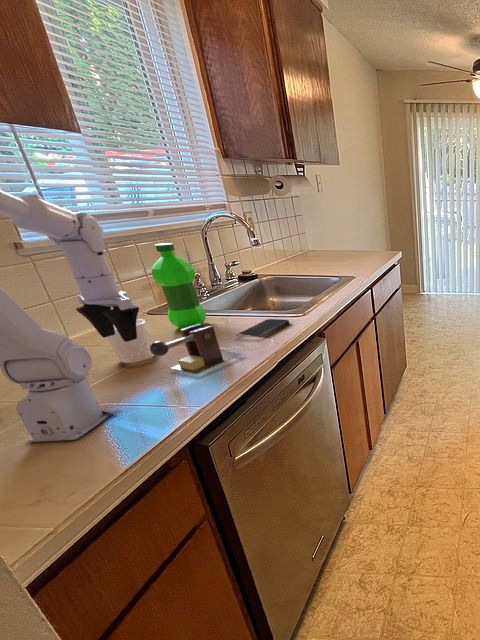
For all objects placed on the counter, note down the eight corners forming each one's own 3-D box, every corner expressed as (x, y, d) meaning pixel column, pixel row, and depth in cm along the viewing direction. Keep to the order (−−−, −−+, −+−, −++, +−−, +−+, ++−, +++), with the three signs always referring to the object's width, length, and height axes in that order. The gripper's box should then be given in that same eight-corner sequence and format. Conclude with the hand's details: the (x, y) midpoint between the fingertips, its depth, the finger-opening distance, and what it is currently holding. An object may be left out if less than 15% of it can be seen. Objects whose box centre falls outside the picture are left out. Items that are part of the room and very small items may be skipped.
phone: (290, 319, 125) (258, 336, 112) (291, 323, 125) (259, 340, 112) (267, 318, 126) (233, 335, 113) (268, 322, 127) (234, 339, 113)
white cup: (137, 369, 96) (121, 330, 92) (111, 367, 97) (94, 328, 93) (166, 356, 103) (153, 319, 99) (142, 354, 104) (127, 318, 100)
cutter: (158, 359, 85) (153, 345, 84) (149, 357, 86) (143, 343, 85) (211, 340, 96) (207, 327, 94) (202, 338, 97) (198, 325, 95)
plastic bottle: (207, 319, 131) (183, 240, 121) (212, 327, 124) (186, 244, 113) (170, 325, 125) (141, 243, 115) (173, 334, 118) (142, 248, 108)
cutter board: (198, 378, 91) (184, 338, 87) (171, 372, 94) (157, 334, 90) (243, 358, 101) (233, 321, 97) (218, 353, 104) (207, 318, 100)
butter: (193, 370, 92) (190, 362, 91) (180, 367, 93) (177, 360, 93) (206, 365, 95) (203, 357, 94) (193, 362, 96) (191, 354, 95)
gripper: (138, 273, 82) (161, 335, 87) (95, 269, 86) (119, 328, 92) (97, 281, 76) (125, 347, 81) (54, 276, 80) (82, 338, 86)
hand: (119, 338), depth 86 cm, fingers open, 7 cm apart
